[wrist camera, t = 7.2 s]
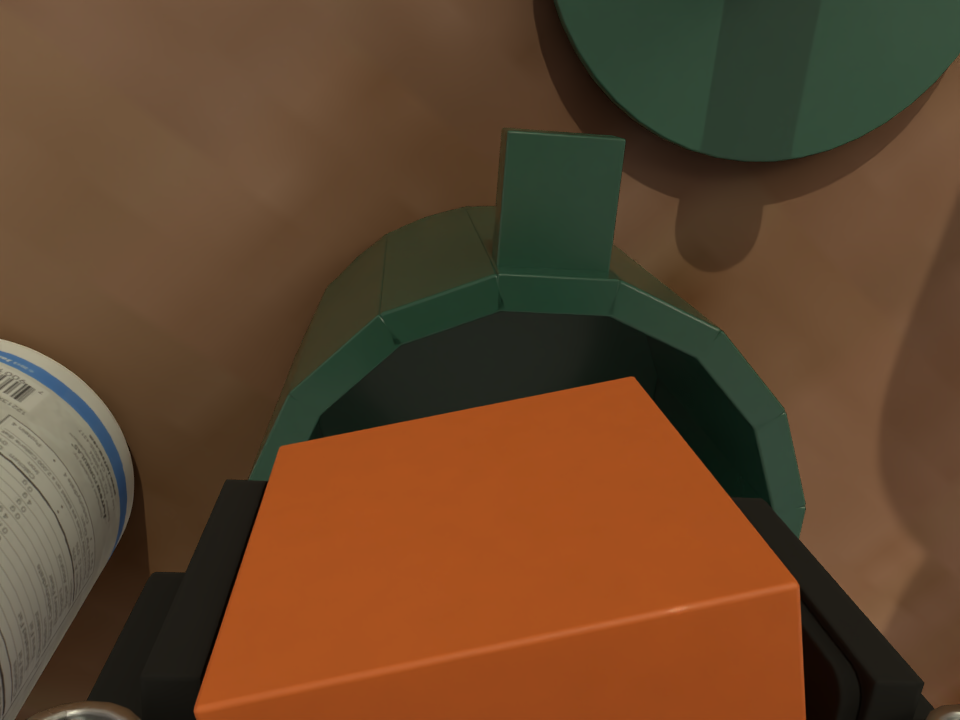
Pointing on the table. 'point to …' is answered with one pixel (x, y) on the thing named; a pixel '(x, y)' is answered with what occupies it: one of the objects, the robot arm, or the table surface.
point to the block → (507, 576)
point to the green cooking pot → (529, 325)
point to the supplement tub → (52, 509)
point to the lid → (762, 67)
